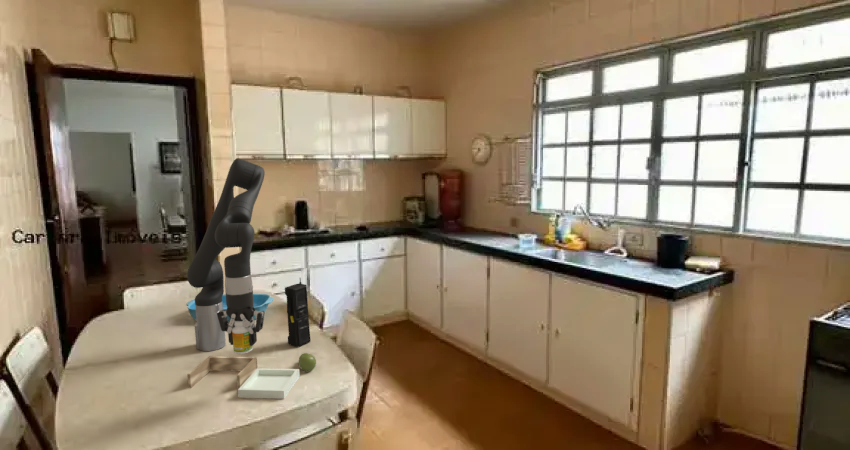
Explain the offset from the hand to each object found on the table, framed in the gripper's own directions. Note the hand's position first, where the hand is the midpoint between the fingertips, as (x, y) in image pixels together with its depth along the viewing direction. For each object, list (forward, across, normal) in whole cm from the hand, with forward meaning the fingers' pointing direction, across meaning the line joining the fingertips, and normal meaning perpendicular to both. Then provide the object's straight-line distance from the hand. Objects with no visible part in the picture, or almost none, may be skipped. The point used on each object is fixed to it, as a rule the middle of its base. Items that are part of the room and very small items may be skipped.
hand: (243, 344), depth 141 cm
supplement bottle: (+2, 0, 0) cm, 2 cm away
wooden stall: (+15, -11, +7) cm, 20 cm away
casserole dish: (+16, -39, +66) cm, 78 cm away
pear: (+16, +13, +18) cm, 27 cm away
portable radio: (+16, +3, +37) cm, 40 cm away
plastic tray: (+15, +6, +4) cm, 17 cm away
